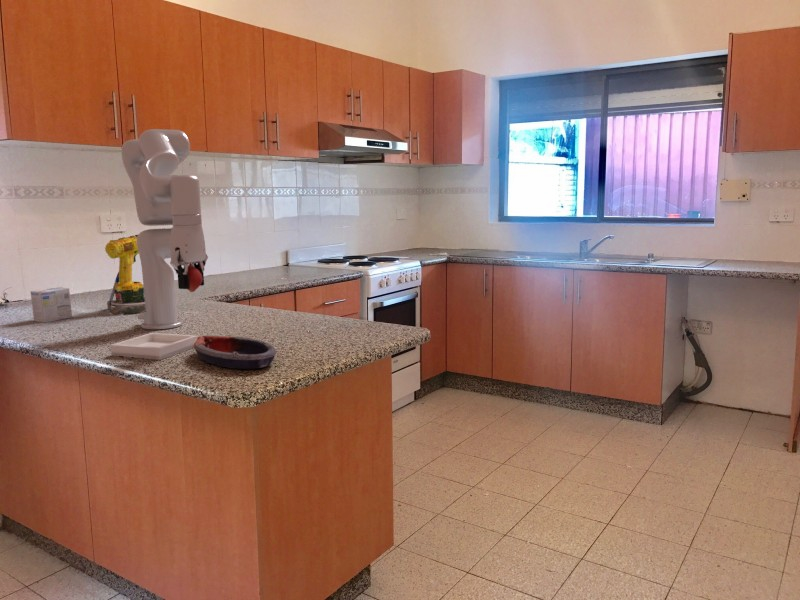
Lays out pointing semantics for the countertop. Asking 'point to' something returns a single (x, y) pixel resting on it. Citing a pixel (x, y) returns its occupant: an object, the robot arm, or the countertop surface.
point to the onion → (194, 278)
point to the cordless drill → (125, 278)
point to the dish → (234, 351)
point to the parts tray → (154, 346)
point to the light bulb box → (51, 304)
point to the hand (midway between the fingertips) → (191, 286)
